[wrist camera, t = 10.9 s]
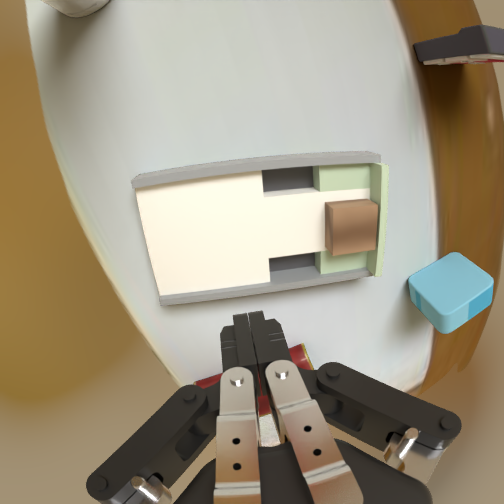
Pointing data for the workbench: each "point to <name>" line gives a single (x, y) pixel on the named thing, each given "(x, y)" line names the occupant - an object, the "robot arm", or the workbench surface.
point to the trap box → (256, 223)
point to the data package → (451, 291)
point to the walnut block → (350, 226)
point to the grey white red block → (464, 47)
